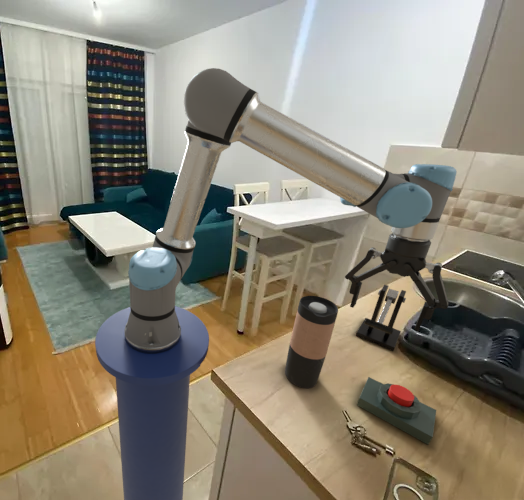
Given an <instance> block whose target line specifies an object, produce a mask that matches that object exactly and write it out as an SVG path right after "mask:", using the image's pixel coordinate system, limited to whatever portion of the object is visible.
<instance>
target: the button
mask: <svg viewBox="0 0 524 500" xmlns="http://www.w3.org/2000/svg"><path fill="white" fill-rule="evenodd" d="M388 396H389V398H390V399H391V400H392V401H393V402H395V403H397V404H399V405H401V406H404V407H410V406H411V405H412V403H413V401H414V396H415V394H414V393H413V392H412V391H411V390H410V389H408V388H406V387H405V386H403V385H400V384H394V385H391V386H390V389H389V391H388Z"/></svg>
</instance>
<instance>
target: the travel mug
mask: <svg viewBox="0 0 524 500" xmlns="http://www.w3.org/2000/svg"><path fill="white" fill-rule="evenodd" d="M338 314H339V308H338V306H337V305H336V304H335V303H334V302H332V301H331V300H329V299H328V298H324V297H322V296H319V295H304V296H302V297H301V298H300V299H299V301H298V305H297V310H296V315H295V319H294V323H293V328H292V331H291V335H290V340H289V346H288V351H287V357H286V361H285V370H284V375H285V377H286V378H287V380H288V381H289V382H290V383H291V384H292V385H295V386H296V387H298V388H302V389H312V388H314V387H315V386H316V385H317V383H318V381H319V377H320V374H321V372H322V369H323V366H324V362H325V360H326V357H327V354H328V350H329V347H330V343H331V340H332V339H331V338H332V335H333V331H334V327H335V324H336V322H337V321H336V320H337V317H338Z"/></svg>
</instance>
